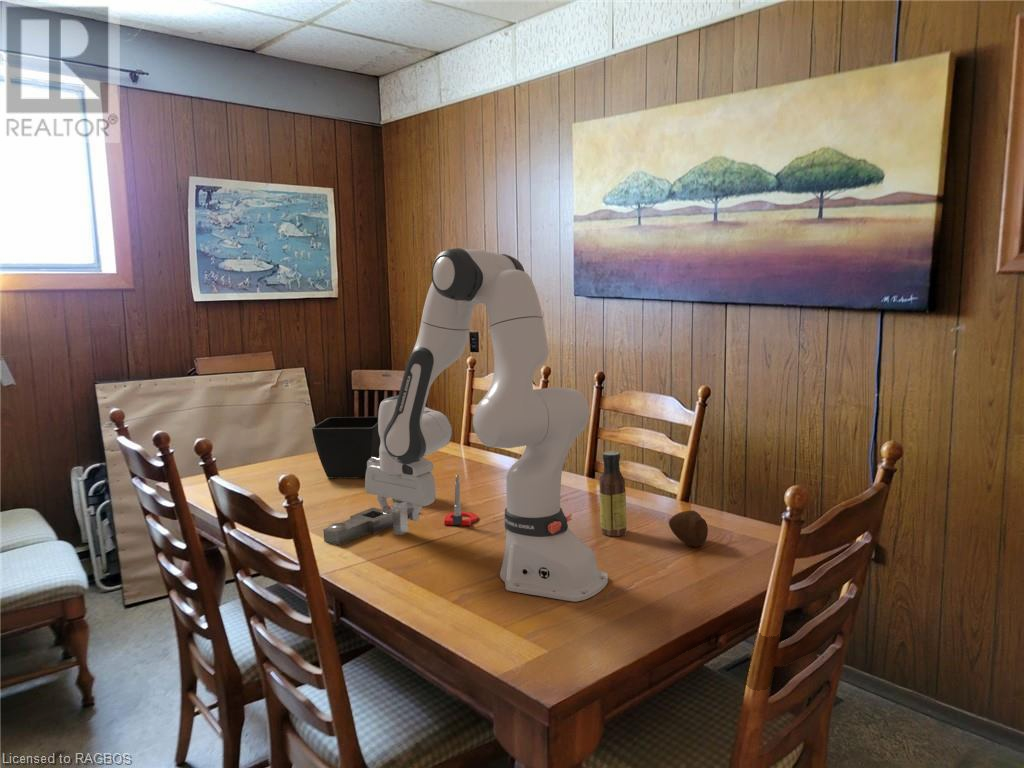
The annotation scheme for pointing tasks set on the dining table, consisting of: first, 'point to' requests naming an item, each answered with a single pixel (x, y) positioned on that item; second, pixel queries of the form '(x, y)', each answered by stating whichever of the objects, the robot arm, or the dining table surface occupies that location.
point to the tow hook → (459, 511)
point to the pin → (399, 517)
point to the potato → (689, 527)
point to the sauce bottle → (612, 496)
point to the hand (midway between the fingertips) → (400, 516)
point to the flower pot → (346, 445)
